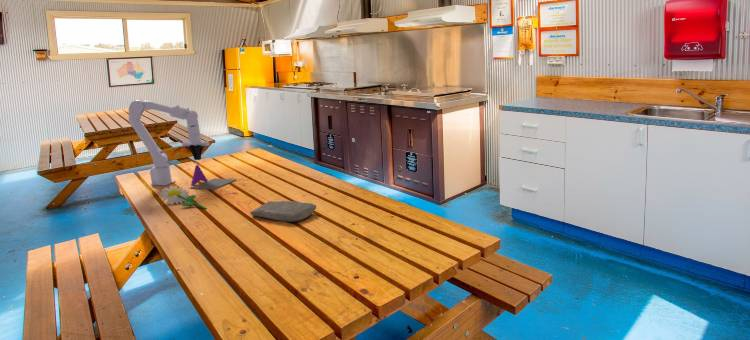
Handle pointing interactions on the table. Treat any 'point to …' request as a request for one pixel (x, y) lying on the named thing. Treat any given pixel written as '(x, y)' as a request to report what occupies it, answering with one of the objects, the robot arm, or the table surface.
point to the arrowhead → (198, 176)
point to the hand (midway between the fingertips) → (197, 159)
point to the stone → (285, 211)
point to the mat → (213, 184)
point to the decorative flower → (178, 196)
